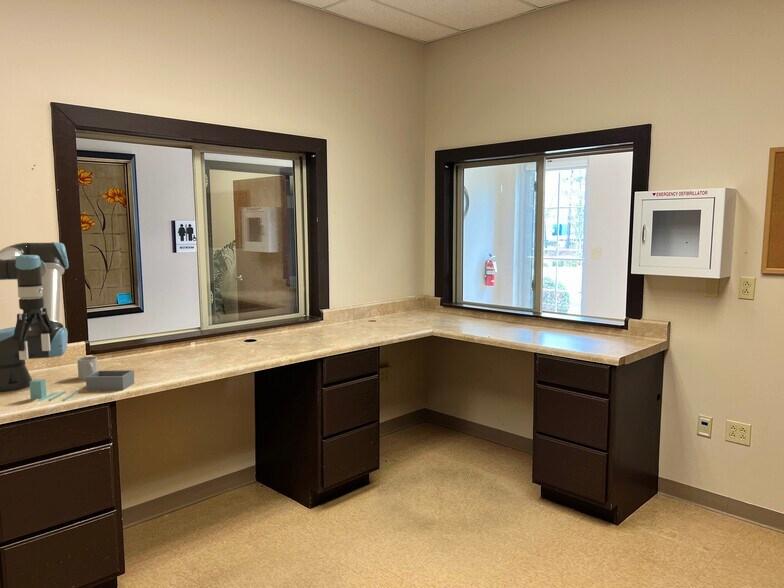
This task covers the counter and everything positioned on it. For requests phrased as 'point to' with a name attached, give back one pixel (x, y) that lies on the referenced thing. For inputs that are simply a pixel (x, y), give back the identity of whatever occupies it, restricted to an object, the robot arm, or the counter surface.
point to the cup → (86, 367)
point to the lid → (43, 391)
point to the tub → (110, 380)
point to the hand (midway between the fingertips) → (35, 355)
